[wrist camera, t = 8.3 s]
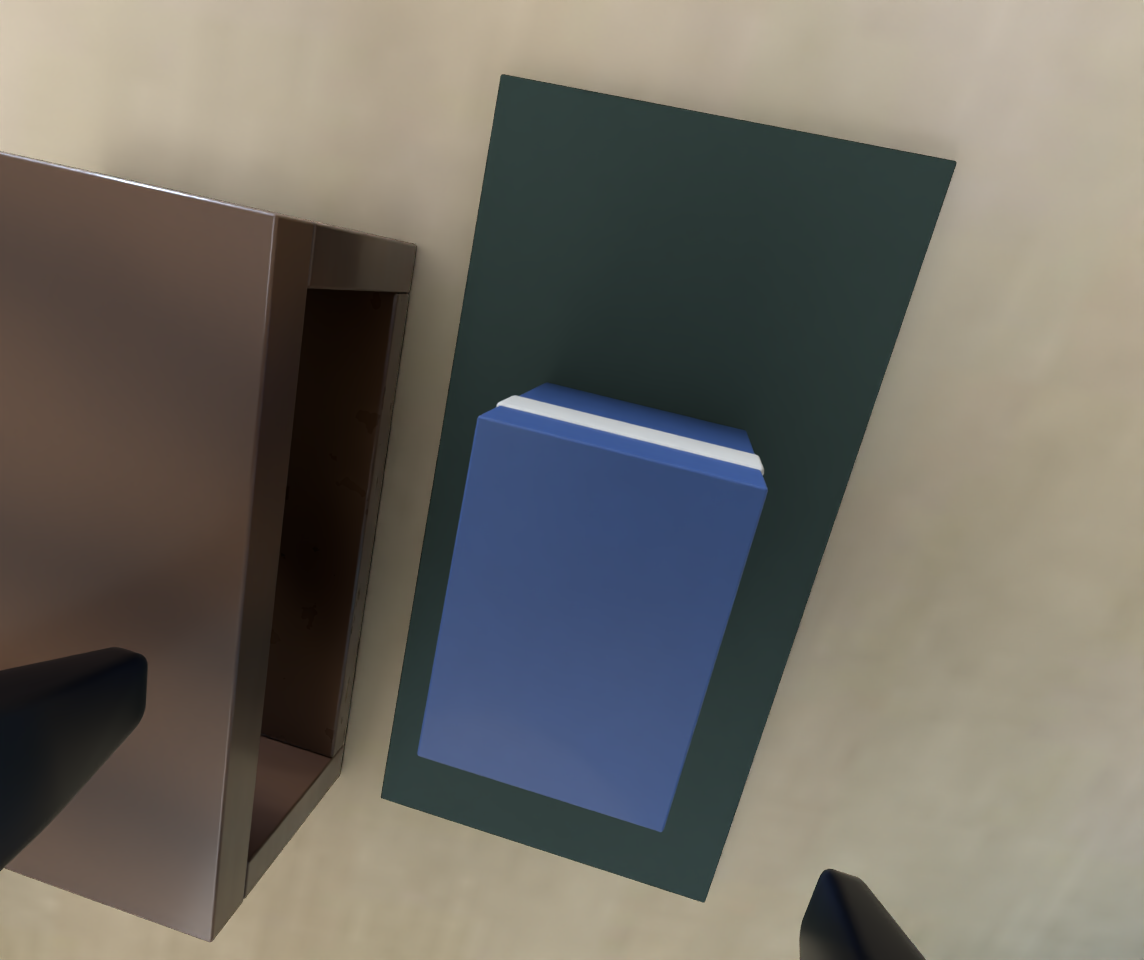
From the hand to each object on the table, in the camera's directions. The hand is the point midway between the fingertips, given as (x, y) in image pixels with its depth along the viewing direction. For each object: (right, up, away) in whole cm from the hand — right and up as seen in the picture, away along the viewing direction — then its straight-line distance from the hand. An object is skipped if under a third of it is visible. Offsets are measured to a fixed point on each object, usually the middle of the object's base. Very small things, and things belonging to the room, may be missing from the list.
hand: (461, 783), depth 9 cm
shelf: (-8, +3, +11) cm, 14 cm away
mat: (+3, +2, +9) cm, 10 cm away
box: (+2, +2, +9) cm, 10 cm away
